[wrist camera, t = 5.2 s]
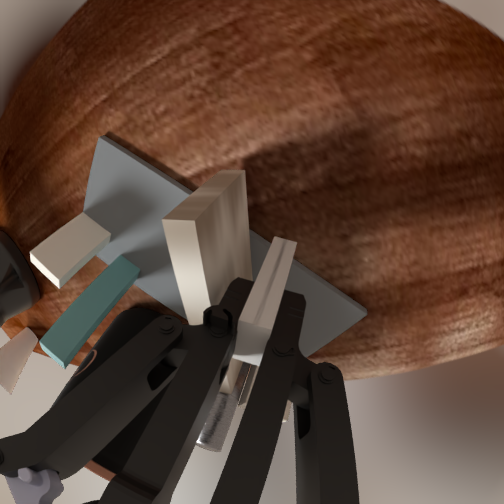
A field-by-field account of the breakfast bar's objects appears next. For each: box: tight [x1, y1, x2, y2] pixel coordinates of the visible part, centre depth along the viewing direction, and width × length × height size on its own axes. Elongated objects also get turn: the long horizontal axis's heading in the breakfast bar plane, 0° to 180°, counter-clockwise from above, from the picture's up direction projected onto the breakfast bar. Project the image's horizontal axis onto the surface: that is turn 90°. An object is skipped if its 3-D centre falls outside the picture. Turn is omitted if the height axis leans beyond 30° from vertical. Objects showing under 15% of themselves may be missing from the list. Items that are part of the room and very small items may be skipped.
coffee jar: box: [50, 308, 173, 481], centre depth 23 cm, size 11×11×18 cm
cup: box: [0, 327, 38, 394], centre depth 45 cm, size 11×11×18 cm
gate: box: [162, 170, 253, 394], centre depth 17 cm, size 13×2×7 cm, turn 4°
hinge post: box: [196, 361, 251, 452], centre depth 20 cm, size 2×2×12 cm
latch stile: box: [39, 255, 140, 369], centre depth 20 cm, size 2×2×12 cm
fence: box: [30, 212, 292, 423], centre depth 21 cm, size 24×1×7 cm, turn 59°
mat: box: [83, 135, 367, 357], centre depth 22 cm, size 25×12×1 cm, turn 59°
